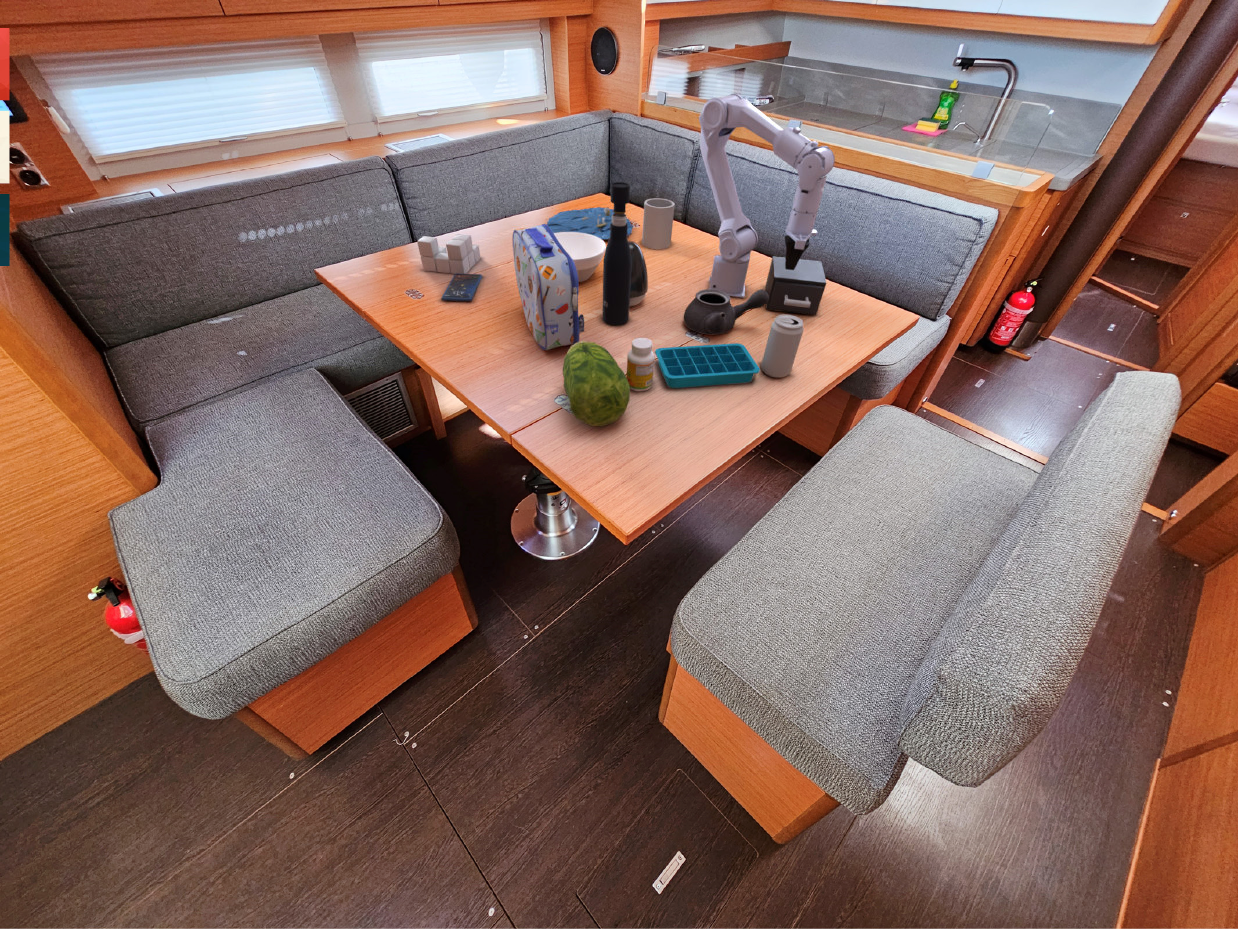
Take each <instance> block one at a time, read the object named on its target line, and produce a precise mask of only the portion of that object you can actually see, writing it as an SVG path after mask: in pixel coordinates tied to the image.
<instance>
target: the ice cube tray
mask: <svg viewBox="0 0 1238 929" xmlns="http://www.w3.org/2000/svg"><path fill="white" fill-rule="evenodd" d="M654 355H655V357H656V358H657V360H658V366H659V368H660V371H661V373H662V376H663V378H664V380H665V383H666V385H667V387H669V388H672V389H681V388H682V389H683V388H696V387H708V386H709V387H710V386H719V385H720V386H723V385H735V384H748V383H751V382H752V380H753V378H754V376H755V375H756V374H759V373H760V370H761V367H760V366H759V365H758V364H757V362H756V360H754V357H753V356H752V354H750V352H749V350H748V349H747V348H746V345H744V344H742V343H737V342H735V343H734V342H733V343H721V344H705V345H704V344H702V345H701V344H700V345H687V346H674V347H673V346H672V347H671V346H670V347H658V348H656V349H655V351H654Z"/></svg>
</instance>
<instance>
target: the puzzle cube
mask: <svg viewBox="0 0 1238 929" xmlns="http://www.w3.org/2000/svg"><path fill="white" fill-rule="evenodd" d="M416 243H417V247H418V251H419V256H420V260H421V265H422V268H423V271H424V272H425V271H426V272H434V273H435V272H436V273H437V272H438V273H444V274H452V275H454V274H468V272H469V271H470V270H471V269H472V268H473V267H474V266H475V265H476V264H477V263H478V262H479V261H480V260H481V258H482V257H481V251H480V245H479V244H473V238H472V235H471V234H464V233H463V234H462V233H457V234H456V235H455V236H454V237H453V238H451V239H450V240H449V241H448V242H447V243H446V244H445V246H439V243H438V238H437V237H436V236H435V237H434V236H426V235H423V236H421V237H420V238H419V239H418V240H417V241H416Z"/></svg>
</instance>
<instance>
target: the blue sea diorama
mask: <svg viewBox="0 0 1238 929" xmlns="http://www.w3.org/2000/svg"><path fill="white" fill-rule="evenodd" d="M613 210H614V208H610V207H600V206H597V207H589V208H583V209H582V208H581V209H571V210H569V209H568V210H565V211H560V212H558V213H557V214H554V215H553V216H551V217H549V218H548V221H547V222H546V225H548V226H549V228H550V229H551V230H552V232H553V233H559V232H579V233H585V234H590V235H593V236H596V237H598V238H600V239H601V240H609V238H610V224H611V223H612V221H611V220H612V218H611V217H612V214H614V212H613ZM626 220H627V225H628V230H627V237H628V236H630V235H632V232H633V229H634V226H633V224H632V223H631V221H630V219H629V218H627V219H626Z"/></svg>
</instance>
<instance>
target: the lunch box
mask: <svg viewBox="0 0 1238 929" xmlns="http://www.w3.org/2000/svg"><path fill="white" fill-rule="evenodd" d="M512 253H513V265H514V266H513V267H514V273H515V279H516V280H515V281H516V284H517V290H518V294H519V298H520V302H521V306H522V310H523V313H524V317H525V322H526V325H527V327H528V329H529V331H530V333H531V334H532V336H533V338H534V340H535V341H536V344H537V345H538V347H539V348H540V349H541V350H543V351H549V350H552V349H555V348H558V347H564V346H569V345H571V346H573V345H574V344H575V343H577V342H580V334H581V333H584V332H585V317H584V314H583V313H582V314H580V315H579V292H580V291H579V284H580V282H578V272H577V269H576V266H575V263H574V261H573V259H572V258H571V257H570V255H569V254H568V253H567V252H566V251H565V249H564V248H563V247H562V245H561V244H560V243H559V241H558V239H557V238H556V236H555V235H554V233H553V232H552V230H551V229H550V228H549V226H548V225H547V223H543V224H541V225H540V224H539V225H534V226H530V227H522V228H521V227H520V228H514V229H513V232H512Z"/></svg>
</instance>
